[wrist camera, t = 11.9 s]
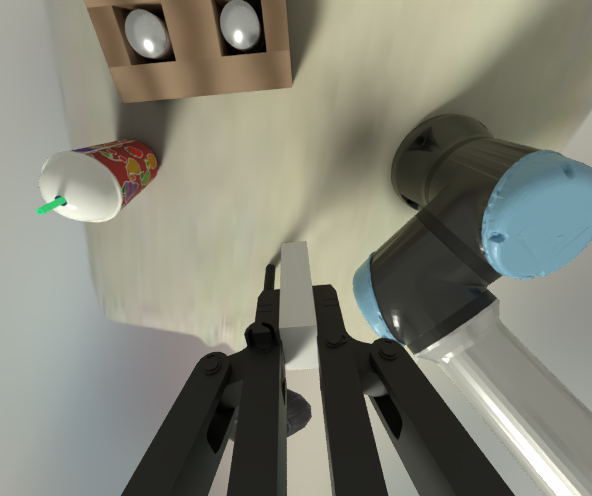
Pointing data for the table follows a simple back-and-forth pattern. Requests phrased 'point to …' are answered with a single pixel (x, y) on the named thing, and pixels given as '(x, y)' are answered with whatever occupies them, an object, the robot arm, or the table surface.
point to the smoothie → (96, 179)
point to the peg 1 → (149, 35)
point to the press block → (191, 50)
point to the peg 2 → (242, 27)
